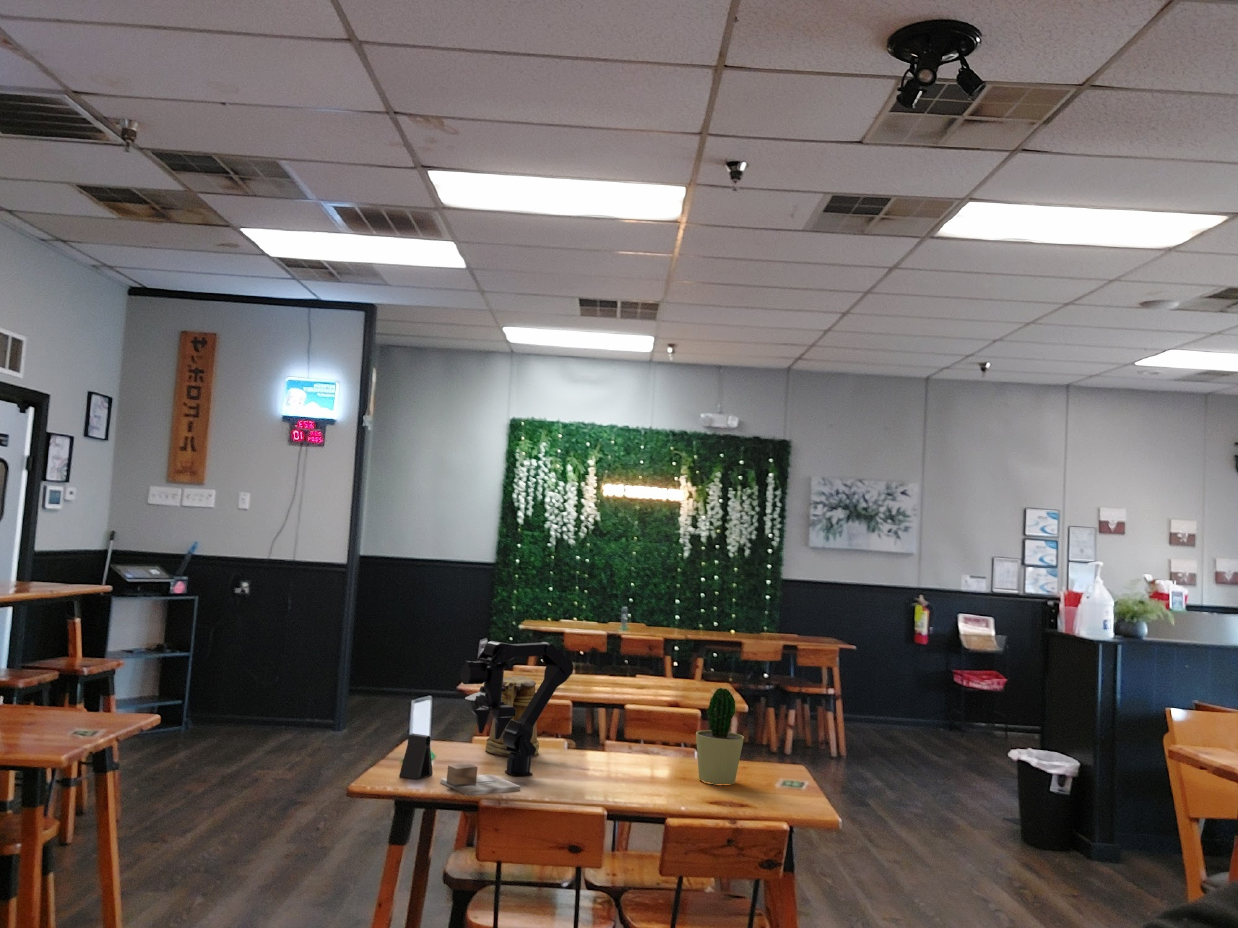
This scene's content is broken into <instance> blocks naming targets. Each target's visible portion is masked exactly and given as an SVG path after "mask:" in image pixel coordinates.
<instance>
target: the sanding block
mask: <svg viewBox="0 0 1238 928" xmlns="http://www.w3.org/2000/svg"><path fill="white" fill-rule="evenodd" d="M477 775H478V766H476V765H474V764H471V763H461V764H460V763H459V764H449V765H448V764H447V773H446V778H447V784H449V785H451V786H454V787H459V786H469V785H476V779H477Z"/></svg>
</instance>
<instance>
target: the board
mask: <svg viewBox="0 0 1238 928" xmlns="http://www.w3.org/2000/svg"><path fill="white" fill-rule="evenodd" d="M440 784H442V785H445V786H447V787H448V788H452V790H453V789H454V790H456V791H457V792H460V793H462V794H465V795H466V796H469V797H470V796H480V795H488V794H489V795H490V794H499V793H508V792H517V791H518V792H519V791H521V787H522V786H521V785H518V784H516V783H514V782H511V781H508V780H507V779H504V778H501V777H499V776H497V775H494V774H492V773H489V774H479V775H478V774H477V779H476V785H469V786H459V787H454V786H451V785H449V784H447V777H444V778H440Z"/></svg>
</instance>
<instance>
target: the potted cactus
mask: <svg viewBox="0 0 1238 928" xmlns="http://www.w3.org/2000/svg"><path fill="white" fill-rule="evenodd" d="M710 693H711V695H712V696H709V698H710V701H707V703H709V705H708V706H707V710H706V715H707V717H708V718H709V724H708V723H707V724H708V725H709V729H706V730H705V729H704V730H703V729H702V730H698V731H696V732H695V735H696V739H695V740H696V752H697V753H696V754H697V768H698V779H701V780H704V781H705V782H710V783H713V784H734V785H735V782H736V777H737V774H738V768H739V764H740V758H741V753H742V749H743V745H744V739H745V736H743V735H742V734H740V733H737V732H731V731H730V728H731V726H733V724H732V722H731V721H732V720H733V719H734V717H735V716H736V715H737V713H736V711H738V708H737V706H736V701H737V699H735V695H734V693H732V691H731V690H730V689H728V688H723V687H716V690H714V692H710Z"/></svg>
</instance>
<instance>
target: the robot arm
mask: <svg viewBox="0 0 1238 928" xmlns="http://www.w3.org/2000/svg"><path fill="white" fill-rule="evenodd" d="M538 656H539V657H541V659H542V662H543V663H544V665H545V666H546V667H545V669H544V678H543V680H542V682H541V683H540V685H539V687H538V688H537V690H535V692H536V693H535V695H534V696H533V698H532V700H531V701H530V703H529V704H528V706H527V708H526V709H525V711H524V712H523V714H522V716H521V717H520V718H519V719H518V720H517V721H514V720H511V719H513V717H515V716H516V709H515V708H514V707H513V706H509V705H504V702H503V701H501V700H502V692H505V688H503V679H504V678H505V677H504V675H505V674H504V673H505V670H510V669H511V668H512V667H511V666H510V665H509V664H508V663H507V661H511V660H513V659H515V658H525V657H538ZM574 670H575V668H574V664H573V661H572V660H571V659H568V657H566V656H565V654H563V653H562V652H561V651H560V650H558V648H557V647H556V646H555V645H554V644H553V643H551V642H546V641H542V642H530V643H529V642H527V643H507V642H506V643H505V642H499V641H494V640H490V641H487V642H486V644H485V646H484V649H483V650H482V652H481V653H480V654H479V656H478V657H477V659H476V660H475V661H472V660H471V661H470V660H466V661H465V663H464V665H463V666H462V668H461V671H460V675H459V676H460V682H461V683H462V684H463V685H481V686H480V687H479V691H477V692H474V693H472V694H470V695H468V696H465V698H464V699H465V705H466V709H469V711H470V712H471V713H472V714H473V715H474V717H475V720H476V726H477V730H478V734H483V733H484V731H485V728H486V725H487V720H488V719H489V715H490V712H491V714H492V716H491V718H492V720H493V719H494V721H495V739H499V738H500V736H501V734H502V733H503V731H505V732H504V734H503V742H504V744H505V745H506V750H507V751H509V752H511V753H509V757H508V758H507V762H506V770H504V773H507V774H509V775H512V776H514V777H524V776H525V777H526V776H533V775H534V773H533V772H531V762H532V757H533V756H535V755H534V754H535V751H536V748H535V747H534V745H533V744H532V743H531V742H530V741H531V738H532V736H533V727H534V724H535V723H536V724H537V721H538V720H539V718H540V716H541V715H542V712H543V711H544V709H545V708H546V706H547V705H548V703H549V701H550V700H551V698H552V696H553V695H554V693H555V692H556V690H557V688H558V687H560V686H561V685H563V684H564V683H565V682H566V681H567V680H568V679H569V678H570V676H572V674H573V672H574ZM482 684H483V685H482ZM510 720H511V721H510ZM509 721H510V722H509ZM508 723H509V724H508ZM507 724H508V726H507ZM506 726H507V728H506V729H505V727H506ZM504 729H505V730H504Z"/></svg>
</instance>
